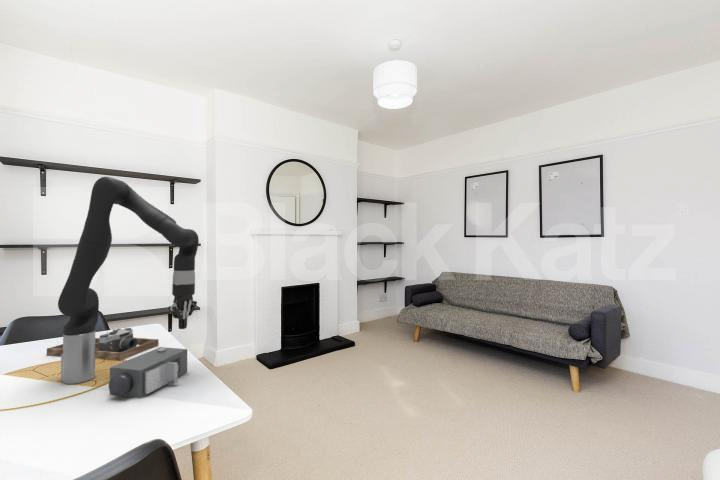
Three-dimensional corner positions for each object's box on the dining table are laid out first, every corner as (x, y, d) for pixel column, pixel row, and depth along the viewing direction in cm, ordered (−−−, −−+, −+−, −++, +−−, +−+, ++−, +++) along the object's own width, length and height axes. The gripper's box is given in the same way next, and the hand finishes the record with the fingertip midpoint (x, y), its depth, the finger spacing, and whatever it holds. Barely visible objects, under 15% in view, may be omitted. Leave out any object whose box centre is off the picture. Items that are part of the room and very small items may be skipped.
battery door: (144, 393, 114) (144, 372, 114) (167, 381, 123) (167, 361, 123) (155, 394, 113) (155, 373, 113) (177, 382, 123) (177, 362, 123)
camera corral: (91, 357, 150) (91, 350, 150) (132, 343, 170) (132, 337, 170) (120, 360, 147) (120, 353, 147) (158, 345, 167) (158, 339, 167)
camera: (115, 358, 150) (115, 335, 150) (96, 356, 152) (96, 334, 152) (145, 347, 165) (145, 326, 165) (127, 346, 167) (127, 325, 167)
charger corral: (46, 355, 153) (46, 348, 153) (86, 343, 170) (86, 337, 170) (74, 357, 150) (74, 350, 150) (111, 345, 167) (111, 339, 167)
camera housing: (101, 398, 112) (101, 368, 112) (160, 369, 137) (160, 345, 137) (133, 402, 110) (133, 371, 110) (187, 372, 134) (187, 347, 134)
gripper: (187, 279, 137) (186, 323, 137) (161, 283, 124) (160, 332, 124) (204, 280, 135) (203, 325, 135) (180, 285, 122) (178, 334, 122)
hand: (182, 328), depth 130 cm, fingers closed
